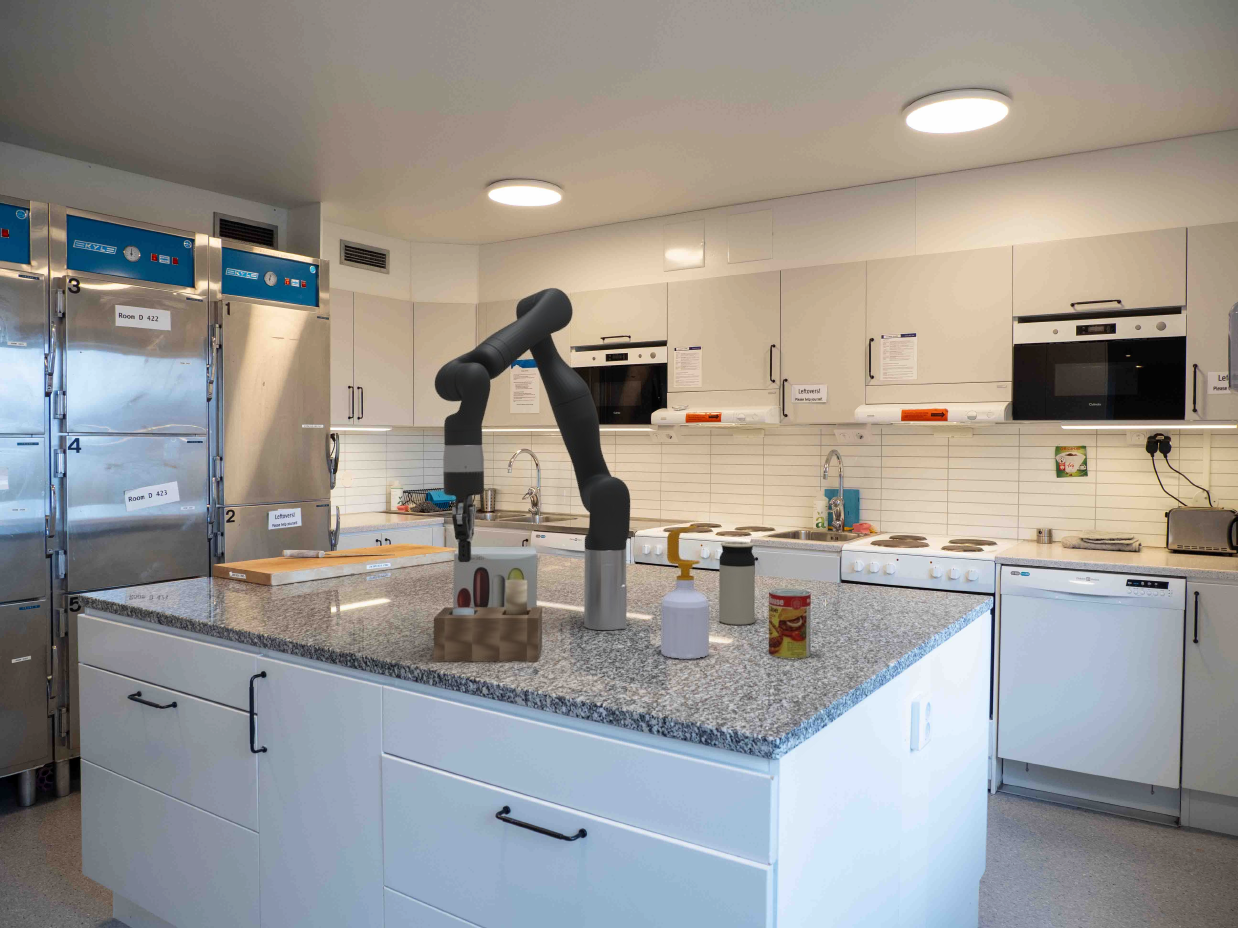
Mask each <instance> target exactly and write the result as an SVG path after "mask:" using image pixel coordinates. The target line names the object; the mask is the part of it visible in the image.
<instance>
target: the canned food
mask: <svg viewBox="0 0 1238 928" xmlns="http://www.w3.org/2000/svg"><path fill="white" fill-rule="evenodd" d="M811 600H812V593H811V591H810V590H807V589H800V588H787V587H785V588H784V587H783V588H773V589H770V590H768V655H769V654H770V656H771V655H772V656H771V657H773V656H775V657H774V658H776V657H782V658H804V659H806V658H805V657H808V658H810V657H811V642H812V641H811V634H812V633H811V630H812V629H811V626H812V623H811V619H812V616H811V615H812V614H811V613H812V612H811V611H812V609H811V608H812V607H811V606H812V601H811ZM809 656H810V657H809ZM782 658H781V659H782Z"/></svg>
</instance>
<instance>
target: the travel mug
mask: <svg viewBox="0 0 1238 928" xmlns="http://www.w3.org/2000/svg"><path fill="white" fill-rule="evenodd" d="M754 545H755V543H753V542H747V541H724V542H720V546H721V548H722V552H721V554H720V556H719V565H718V566H719V571H718V572H719V574H718V575H719V579H718V580H719V583H718V584H719V585H718V587H719V591H718V592H719V593H718V595H719V596H718V597H719V599H718V603H719V605H718V606H719V607H718V620H719V622H721V623H722V624H725V625H732V626H747V625H751V624H753V623H755V617H756V616H755V613H756V612H755V607H756V606H755V605H756V603H755V601H756V600H755V598H756V597H755V592H756V586H755V585H756V580H755V579H756V578H755V577H756V570H755V569H756V564H755V563H756V557H755V555H754V553H753V547H754Z"/></svg>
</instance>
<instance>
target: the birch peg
mask: <svg viewBox="0 0 1238 928" xmlns="http://www.w3.org/2000/svg"><path fill="white" fill-rule="evenodd" d="M506 615H527V580H523V579H512V580H506Z"/></svg>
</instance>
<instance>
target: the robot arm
mask: <svg viewBox="0 0 1238 928" xmlns="http://www.w3.org/2000/svg"><path fill="white" fill-rule="evenodd" d="M515 309H516V310H515V316H516V320H515V321H512V322H511V323H509V324H508V325H506V326H504V327H502V328H500V329H499V330H498V331H496V332H494V333H492V334H491V335H489V336H488V337H487V338H486V339H485V340H483V341H482V342H481V343H479V344H478V345H477V346H476V347H475V348H473V349H472V350H471V351H468V352H465V353H464V354H462V355H460V356H457V357H456V358H453V359H451V360H449V361H448V362H447V363H446V364H445V363H444V364H443V365H442V367H441V368H440V369H439V370H438V371H437V373H436V375H435V379H434V389H435V391H436V393H437V395H438V396H439V397H440V398H441V399H443V400H445V401H447V402H452V403H453V402H454V403H455V402H460V405H459V408H458V410H457V411H456V412H455V413H452V414H450V415H448V416H446V417H445V419H444V425H443V428H444V430H443V432H444V436H443V437H444V438H443V439H444V442H443V443H444V447H443V448H444V451H443V462H442V464H443V465H442V466H443V468H442V469H443V474H442V475H443V477H442V478H443V494H444V495H445V496H449V497H450V496H454V497H455V503H454V505H452V506H451V507H452V508H451V511H452V513H451V514H452V516H451V519H452V525H453V531H454V539H455V540H456V542H457V545H458V547H457V548H458V560H459V562H469V561H470V560H471V547H472V541H473V537H474V535H475V532H474V531H475V527H476V526H475V525H476V520H475V519H476V514H477V504H474V502H473V496H479V495H483V494H484V493H485V464H484V463H485V458H484V450H483V421H484V418H485V414H486V410H487V406H488V401H489V398H490V393H491V380H493V379H496V378H498V377H499V376H500V375H501V374H502V373H504V372H505V371H506V370H507V369H508V368H509V367H511V365H513V364H514V363H515V362H516V361H517V360H518V359H519V358H521V357H522V356H523V355H524V354H526V353H527V352H528V351H529V352H530V354H531V356H532V358H533V361H534V363H535V365H536V368H537V371H538V372H539V375H540V378H541V382H542V384H543V386H544V389H545V392H546V394H547V398H548V402H549V405H550V408H551V411H552V413H553V417H554V420H555V423H556V424H557V427H558V431H559V432H560V436H561V438H562V441H563V443H564V445H565V448H566V451H567V453H568V456H569V458H570V461H571V464H572V466H573V470H574V474H575V478H576V482H577V488H578V491H579V492H578V493H579V496H580V500H581V503H582V505H583V507H584V508H585V510H586V511H587V512H588V513H589V521H588V523H589V524H588V531H587V533H586V534H585V537H584V589H583V590H584V596H583V598H584V602H583V603H584V606H583V607H584V608H583V609H584V613H583V615H584V616H583V621H584V623H583V624H584V628H586V629H589V630H597V631H613V630H621V629H623V630H624V629H625V630H626V629H627V604H628V603H627V594H628V593H627V592H628V591H627V589H628V587H627V541H628V538H629V536H630V535H629V534H630V527H631V526H630V523H631V495H630V489H629V488H628V486H627V484H626V483H625V481H623V480H622V479H620V478H618V477H616V476H612V474H611V472H610V470H609V467H608V465H607V462H606V460H605V457H604V455H603V451H602V446H601V432H600V421H599V415H598V411H597V407H596V405H595V401H594V399H593V396H592V393H591V391H590V388H589V386H588V384H587V382H586V381H585V380H584V379H583V378H582V377H581V375H579V374H578V373H577V372H576V371H575V370H574V369H573V368H572V367H571V366H570V365H569V364H568V363H567V362H566V361H565V360H564V358H563V357H562V356H561V354H560V353H559V351H558V349H557V346H556V344H555V342H554V339H553V337H552V334H554V333H557V332H559V331H561V330H563V329H565V328H566V327H567V326H568V325H569V324H570V323H571V320H572V318H573V315H574V314H573V313H574V312H573V305H572V302H571V299H570V298H569V296H568V295H567V294H566V292H565V291H563V290H562V289H559V288H556V287H550V288H544V289H542V290H540V291H538V292H535V293H532V294H531V295H528V296H526V297H524V298H522V299H521V300H519V301H518V302H517V305H516V308H515Z"/></svg>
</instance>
